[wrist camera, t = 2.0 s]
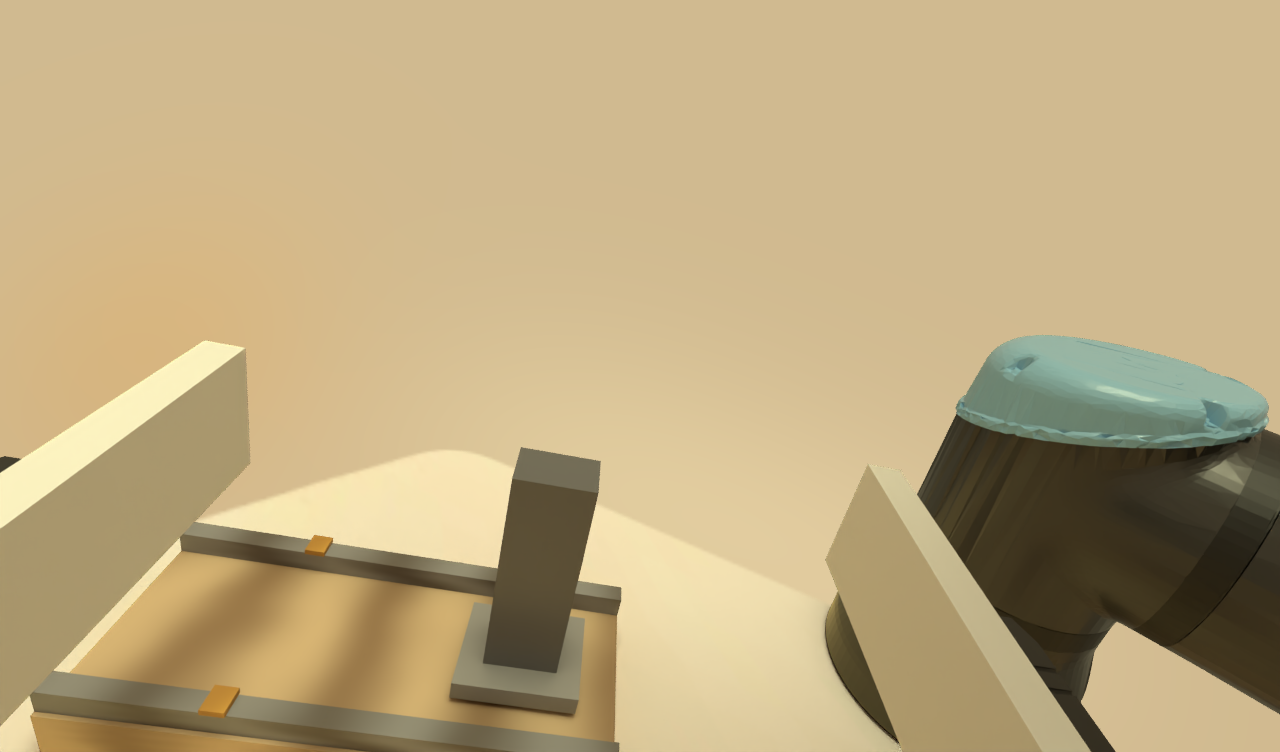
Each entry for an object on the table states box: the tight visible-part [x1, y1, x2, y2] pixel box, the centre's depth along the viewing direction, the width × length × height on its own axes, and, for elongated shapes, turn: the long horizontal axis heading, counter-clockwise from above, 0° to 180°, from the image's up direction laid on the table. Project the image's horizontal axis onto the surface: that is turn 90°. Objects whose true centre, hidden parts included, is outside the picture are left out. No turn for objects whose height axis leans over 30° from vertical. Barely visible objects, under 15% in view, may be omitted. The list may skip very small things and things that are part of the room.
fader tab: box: [449, 447, 600, 714], centre depth 30 cm, size 6×5×12 cm
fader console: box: [30, 522, 621, 752], centre depth 32 cm, size 24×11×4 cm, turn 91°
